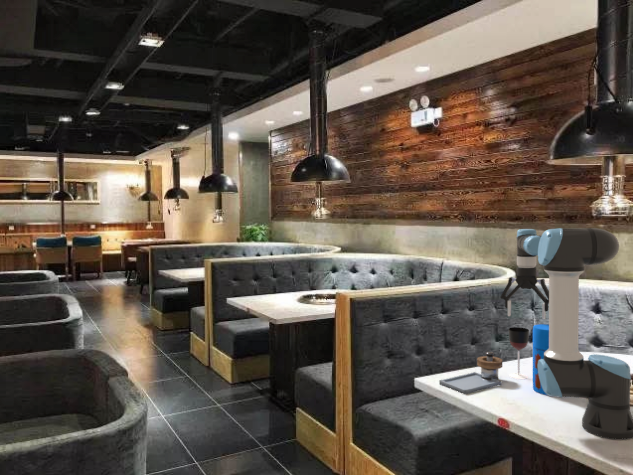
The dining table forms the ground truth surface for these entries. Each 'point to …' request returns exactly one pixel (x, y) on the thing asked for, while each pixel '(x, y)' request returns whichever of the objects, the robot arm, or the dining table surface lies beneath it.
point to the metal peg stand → (489, 373)
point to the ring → (489, 363)
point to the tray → (469, 383)
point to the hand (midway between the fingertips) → (526, 317)
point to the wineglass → (518, 345)
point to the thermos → (539, 352)
